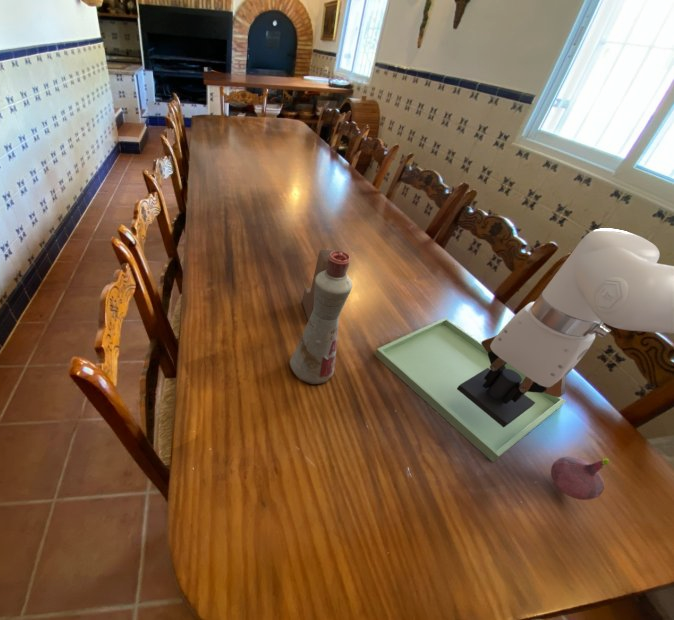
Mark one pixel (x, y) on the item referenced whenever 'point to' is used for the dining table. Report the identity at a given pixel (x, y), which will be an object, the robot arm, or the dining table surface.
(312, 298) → the wooden block
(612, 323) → the robot arm
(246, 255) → the dining table surface
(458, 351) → the pale green flat tray
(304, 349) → the bottle
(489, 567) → the dining table surface
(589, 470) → the vegetable
